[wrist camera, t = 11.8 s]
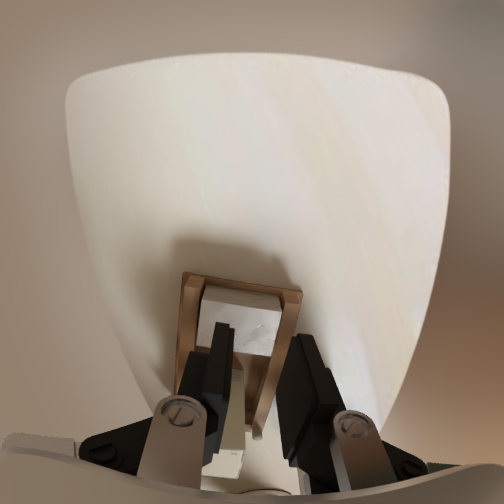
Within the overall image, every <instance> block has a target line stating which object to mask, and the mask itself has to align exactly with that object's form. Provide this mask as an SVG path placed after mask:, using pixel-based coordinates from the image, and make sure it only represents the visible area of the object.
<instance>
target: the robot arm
mask: <svg viewBox="0 0 504 504" xmlns="http://www.w3.org/2000/svg"><path fill="white" fill-rule="evenodd" d="M229 327H230V324H228V323H222V322H216V323H215V328H214V333H213V338H212V343H211V348H210V353H209V354H206V353H200V352H195V351H190V352H189V355H188V358H187V362H186V365H185V368H184V372H183V375H182V379H181V382H180V385H179V389H178V392H177V395H174V396H169V397H166V398H164V399H162V400H161V401H160V402H159V403H158V405H157V406H156V409H155V412H154V416H153V417H150V418H147V419H145V420H142V421H139V422H136V423H133V424H130V425H127V426H124V427H121V428H118V429H114V430H111V431H108V432H105V433H101V434H98V435H94V436H91V437H89V438H87V439H86V440H84V441H83V442H75V441H74V439H71V438H58V437H48V436H40V435H32V434H25V433H13V434H10V435H8V436H7V437H6V438H5V440H4V442H3V444H2V450H0V504H504V466H502V465H499V464H495V463H473V464H465V465H452V464H439V463H430V462H428V463H427V464H426V465H425V463H424V462H423V461H422V460H421V459H419V458H417V457H416V456H414V455H411V454H409V453H407V452H405V451H403V450H401V449H399V448H397V447H395V446H393V445H391V444H389V443H387V442H385V441H383V440H381V438H380V436H379V433H378V431H377V429H376V426H375V424H374V422H373V421H372V419H370V418H369V417H368V416H367V415H365V414H363V413H361V412H358V411H354V410H346V408H345V405H344V403H343V400H342V398H341V395H340V392H339V390H338V387H337V385H336V382H335V380H334V377H333V375H332V372H331V370H330V369H329V368H325V366H324V363H323V360H322V358H321V355H320V353H319V350H318V348H317V345H316V342H315V340H314V337H313V335H309V334H300V333H298V334H297V336H296V337H295V336H292V338H291V341H290V344H289V348H288V351H287V355H286V358H285V361H284V365H283V368H282V371H281V375H280V378H279V381H278V384H277V388H276V402H277V410H278V418H279V426H280V434H281V442H282V450H283V457H284V459H288V461H289V467H298V468H299V469H301V470H302V471H304V472H303V482H304V490H305V495H290V494H288V493H286V492H282V491H276V490H257V491H250V492H245V493H242V494H233V493H222V492H214V491H206V490H200V486H201V474H202V467H204V466H206V465H208V464H210V463H211V462H212V458H213V453H214V454H219V450H220V445H221V440H222V435H223V430H224V425H225V420H226V415H227V411H228V406H229V400H230V393H231V379H232V364H233V349H234V335H235V328H229Z"/></svg>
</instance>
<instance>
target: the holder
mask: <svg viewBox="0 0 504 504" xmlns="http://www.w3.org/2000/svg"><path fill="white" fill-rule="evenodd" d="M207 284H210V285H215V286H221V287H227V288H233V289H239V290H245V291H251V292H258V293H264V294H271V295H277V296H278V298H279V302H280V306H281V310H282V315H281V319H280V323H279V327H278V331H277V334H276V338H275V342H274V346H273V350H272V354H271V356H264V355H256V354H248V353H241V352H234V351H233V364H232V369H236V370H244V392H245V432H252V438H253V439H254V440H261V439H262V431H263V428H264V425H265V422H266V419H267V416H268V413H269V410H270V407H271V404H272V401H273V398H274V395H275V392H276V388H277V384H278V381H279V378H280V375H281V371H282V368H283V365H284V361H285V358H286V355H287V351H288V348H289V344H290V341H291V338H292V336H293V332H294V328H295V325H296V321H297V318H298V314H299V310H300V306H301V301H302V297H303V292H302V291H295V290H289V289H282V288H275V287H269V286H263V285H256V284H250V283H244V282H238V281H232V280H226V279H220V278H214V277H209V276H203V275H197V274H192V273H186V272H184V273H183V277H182V287H181V297H180V308H179V320H178V333H177V347H176V365H175V386H174V395H177V392H178V389H179V385H180V382H181V379H182V375H183V372H184V368H185V365H186V362H187V358H188V355H189V352H190V351H195V352H200V353H206V354H209V353H210V347H204V346H198V345H196V344H197V335H198V327H199V318H200V310H201V302H202V297H203V294H204V292H205V289H206V286H207Z"/></svg>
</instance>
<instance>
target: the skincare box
mask: <svg viewBox="0 0 504 504" xmlns="http://www.w3.org/2000/svg"><path fill="white" fill-rule="evenodd" d="M244 455H245V392H244V370H236V369H232V379H231V393H230V400H229V406H228V411H227V415H226V420H225V425H224V430H223V435H222V440H221V445H220V450H219V454H214V453H213V458H212V462H211V463H210V464H208V465H206V466H204V467H202V474H201V475H202V476H210V477H219V478H229V479H238V477H239V474H240V471H241V468H242V464H243V459H244Z"/></svg>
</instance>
